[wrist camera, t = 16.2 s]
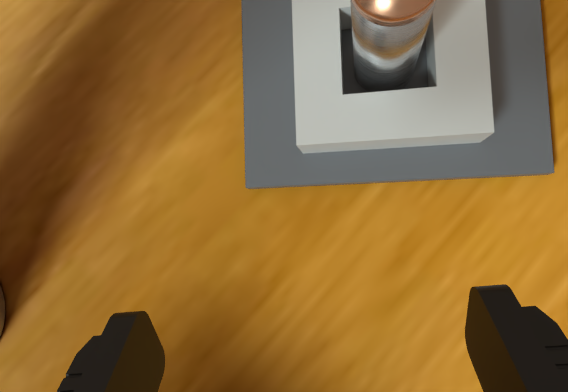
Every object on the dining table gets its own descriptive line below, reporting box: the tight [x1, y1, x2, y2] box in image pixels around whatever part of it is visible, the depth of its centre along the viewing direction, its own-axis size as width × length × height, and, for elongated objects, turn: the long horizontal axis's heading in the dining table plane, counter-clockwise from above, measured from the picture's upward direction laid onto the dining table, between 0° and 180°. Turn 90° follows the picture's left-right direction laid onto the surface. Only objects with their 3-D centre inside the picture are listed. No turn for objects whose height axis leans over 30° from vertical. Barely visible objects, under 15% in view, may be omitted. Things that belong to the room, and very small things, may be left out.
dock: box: [242, 0, 554, 189], centre depth 28 cm, size 20×16×4 cm
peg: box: [350, 0, 437, 92], centre depth 23 cm, size 4×4×11 cm
